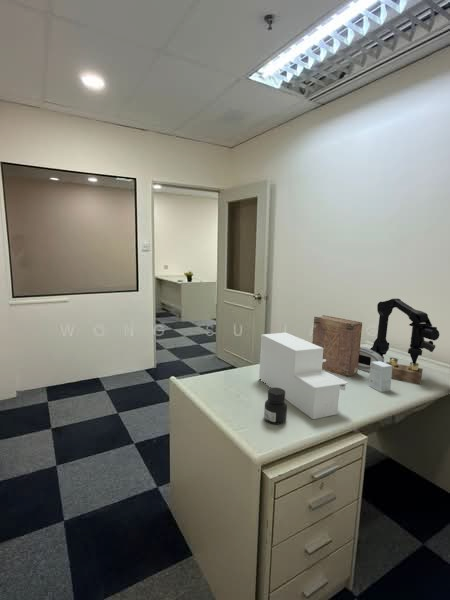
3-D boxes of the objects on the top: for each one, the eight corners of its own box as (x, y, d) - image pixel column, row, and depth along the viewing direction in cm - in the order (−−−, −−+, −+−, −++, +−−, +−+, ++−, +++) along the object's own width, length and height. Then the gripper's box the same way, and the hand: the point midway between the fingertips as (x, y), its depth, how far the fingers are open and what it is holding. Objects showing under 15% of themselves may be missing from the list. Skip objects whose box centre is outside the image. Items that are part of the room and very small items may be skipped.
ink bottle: (260, 414, 132) (261, 386, 131) (280, 412, 134) (282, 385, 133) (269, 426, 123) (270, 397, 121) (290, 424, 125) (292, 395, 123)
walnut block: (382, 376, 179) (384, 366, 178) (385, 371, 187) (386, 361, 186) (420, 384, 169) (421, 373, 168) (421, 379, 177) (422, 368, 176)
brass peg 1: (388, 369, 179) (389, 358, 179) (389, 367, 183) (390, 357, 182) (396, 370, 177) (397, 360, 176) (397, 368, 181) (398, 358, 180)
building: (348, 413, 136) (352, 356, 132) (312, 420, 128) (317, 361, 125) (287, 375, 177) (289, 332, 173) (257, 380, 169) (260, 334, 166)
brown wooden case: (310, 364, 196) (313, 316, 192) (319, 361, 202) (322, 314, 197) (349, 377, 176) (353, 324, 172) (357, 373, 182) (362, 322, 178)
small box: (390, 390, 160) (393, 365, 158) (380, 392, 158) (383, 367, 156) (377, 384, 167) (380, 360, 166) (368, 385, 165) (370, 361, 163)
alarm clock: (340, 364, 198) (341, 344, 196) (345, 362, 202) (346, 342, 200) (378, 375, 181) (380, 353, 179) (383, 372, 185) (385, 351, 183)
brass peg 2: (408, 374, 174) (409, 363, 173) (409, 372, 177) (410, 361, 176) (417, 376, 172) (418, 365, 171) (417, 373, 175) (419, 363, 174)
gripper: (435, 341, 159) (431, 371, 162) (435, 334, 175) (432, 362, 177) (409, 338, 166) (406, 366, 168) (412, 331, 181) (409, 358, 183)
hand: (414, 363), depth 174 cm, fingers closed, pressing on brass peg 2
